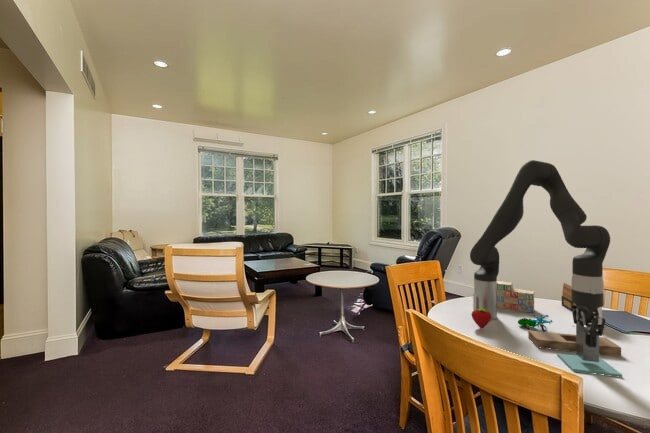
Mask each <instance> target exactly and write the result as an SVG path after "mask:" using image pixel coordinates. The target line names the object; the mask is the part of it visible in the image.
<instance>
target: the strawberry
mask: <svg viewBox="0 0 650 433" xmlns="http://www.w3.org/2000/svg"><path fill="white" fill-rule="evenodd" d="M481 305H482V304H481ZM482 307H483V306H482ZM482 307H481V308H480V309H478V308H475V310H474V311H471V317H472V320H473V321H474V323H475V324H476V325H477V326H478V327H479V328H480V329H481V328H483V329H484V328H486V327H487V326H488V324H490V322H491V320H492V319H491V314H490V313H489V312H488V311H489V310H486V309H483V308H482Z"/></svg>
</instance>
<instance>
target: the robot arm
mask: <svg viewBox="0 0 650 433" xmlns="http://www.w3.org/2000/svg"><path fill="white" fill-rule="evenodd" d="M531 186H537V187H541V188H543V189H544V190H545V191H546V192H547V193H548V195H549V197H550V198H549V206H550V207H549V208H550V209H551V212H552V213H553V214H554V216H555V217H556V218H557V220H558V221H559V222H560V225H561V229H562V233H563V236H564V239H565V241H566V243H567V244H568V245H570V246H571V247H573V248H577V249H585V251H584V253H582V254H577V255H574V257H573V258H572V266H571V267H572V273H571V274H572V275H571V285H570V286H571V300H572V302H573V303H575V304H577V305H571V307H572V312H571V313H572V319H573V323H574V324H575V325H576V324H583V325H584V326H585V327H586V332H587V346H589V347H596V346H597V336H599V337H601V336H603V333H604V329H605V324H606V319H605V318H603V317H602V318H600V317H599V313H598V308H599V307H602V308H603V307H604V301H605V300H604V299H605V297H604V295H605V294H604V293H605V292H604V291H605V290H604V288H605V284H604V283H605V282H604V277H603V275H604V274H603V270H604V269H603V263H604V261H605V258H606V255H607V252H608V250H609V246H610V244H611V235H610V233H609V230H608V229H607V228H605V227H604V226H603V225H582V224H584V223H585V222H586V221H587V217H588V216H587V214H586V213H585V211H584V210H583V209H582V208H581V206H580V205H579V204H578V202H576V200H575V199H574V198H573V196H572V195H571V193H570V191H569V190H568V188H567V186H566V185H565V182H564V180H563V179H562V177H561V174H560V172H559V171H558V169H557V168H556V166H555V165H554V164H552V163H549V162H545V161H541V160H534V159H532V160H528V161H526V162H524V163H523V164H522V166H521V167H520V168H519V170H518V173H517V174H516V176H515V178H514V180H513V182H512V185H511V187H510V189H509V191H508V192H507V194H506V196H505V198H504V200H503V201H502V202H501V205H500V207H499V208H498V210H496V212H495V214H494V216H493V217H492V218H491V221H490V223H489V224H488V225H487V227H486V229H485V230H484V232H483V233H482V235H481V237H480V238H479V239H478V240H477V242H475V243H474V245H473V247H472V248H471V250H470V252H469V259H470V261H471V263H472V264H474V265H476V266H479V268H478V270H476V271H474V273H473V274H474V275H473V277H474V278H473V281H474V282H473V283H474V285H473V288H474V289H473V292H474V293H473V294H472V296H473V297H472V300H473V301H472V303H473V304H472V307H473V308H472V309H473V311H474V310H475V308H478V309H480V308H481V307H482V306H483V307H482V308H483V309H486V310H489V311H488V312H489V313H490V314H491V320H496V319H498V307H497V281H498V275H499V272H500V253H499V250H498V248H497V247H495V246H496V245H497V244H498V243H499V242H501V241H502V240H504V239H505V238H506V237H507V236H508V235H510V234H511V233H512V232H513V231H514V230H515V229H516V227H517V226H518V224H520V222H521V220H522V219H523V216H524V198H525V195H526V194H527V192H528V190H529V188H531ZM481 304H482V305H481ZM473 311H472V312H473ZM589 323H592V324H589ZM590 327H591V329H590Z"/></svg>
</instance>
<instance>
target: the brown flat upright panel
mask: <svg viewBox="0 0 650 433" xmlns="http://www.w3.org/2000/svg"><path fill="white" fill-rule="evenodd" d="M561 293H562V295H561V307H563V308H565V309H566V310H568V311H570V312H571V313H572V307H571V305H577V304H575V303H573V302H572V300H571V285H570V284H567V283H566V282H563V285H562V292H561Z"/></svg>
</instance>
